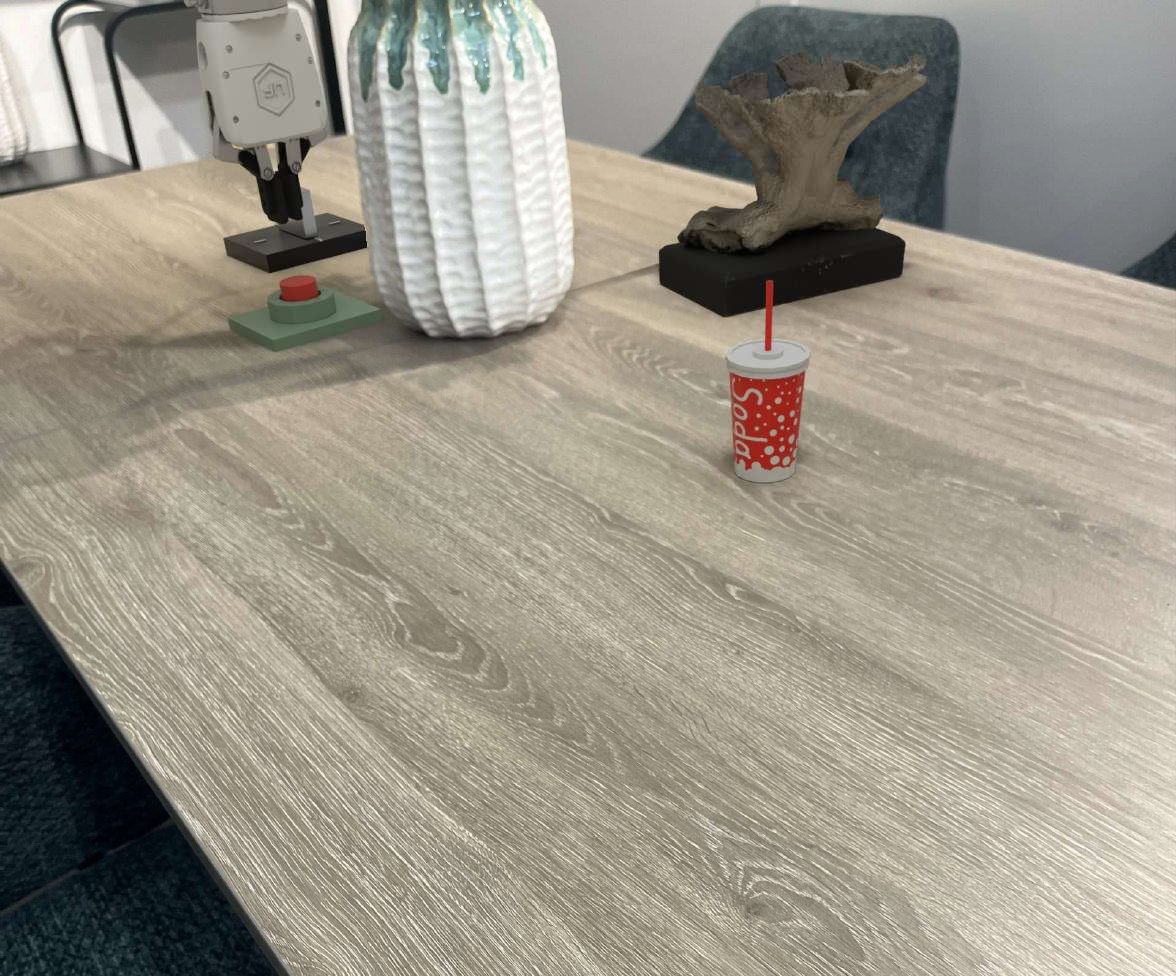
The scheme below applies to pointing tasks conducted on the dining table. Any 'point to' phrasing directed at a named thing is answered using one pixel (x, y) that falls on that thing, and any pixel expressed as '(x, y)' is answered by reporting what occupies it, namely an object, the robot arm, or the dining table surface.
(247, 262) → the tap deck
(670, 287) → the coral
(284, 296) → the button
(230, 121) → the robot arm
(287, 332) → the button block
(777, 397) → the beverage cup
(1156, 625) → the dining table surface
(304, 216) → the upright grey panel
